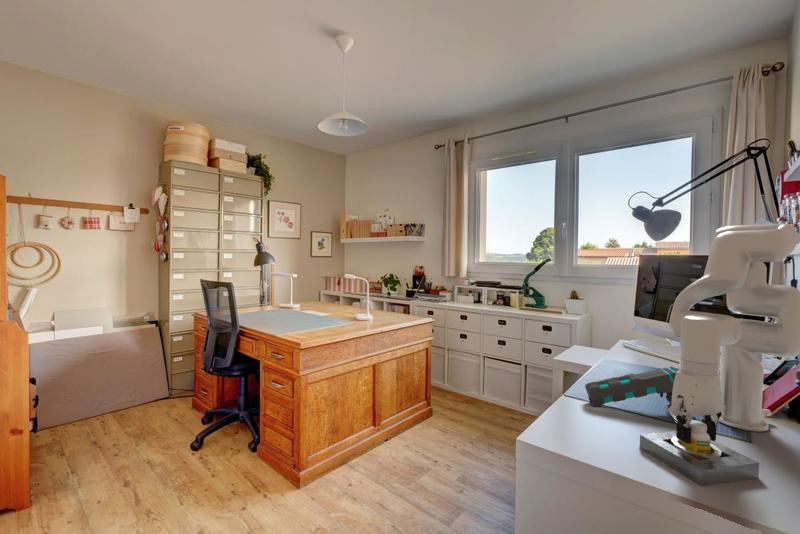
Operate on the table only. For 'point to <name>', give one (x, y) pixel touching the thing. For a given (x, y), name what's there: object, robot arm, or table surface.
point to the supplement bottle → (698, 438)
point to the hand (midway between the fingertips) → (695, 438)
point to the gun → (632, 386)
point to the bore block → (700, 460)
